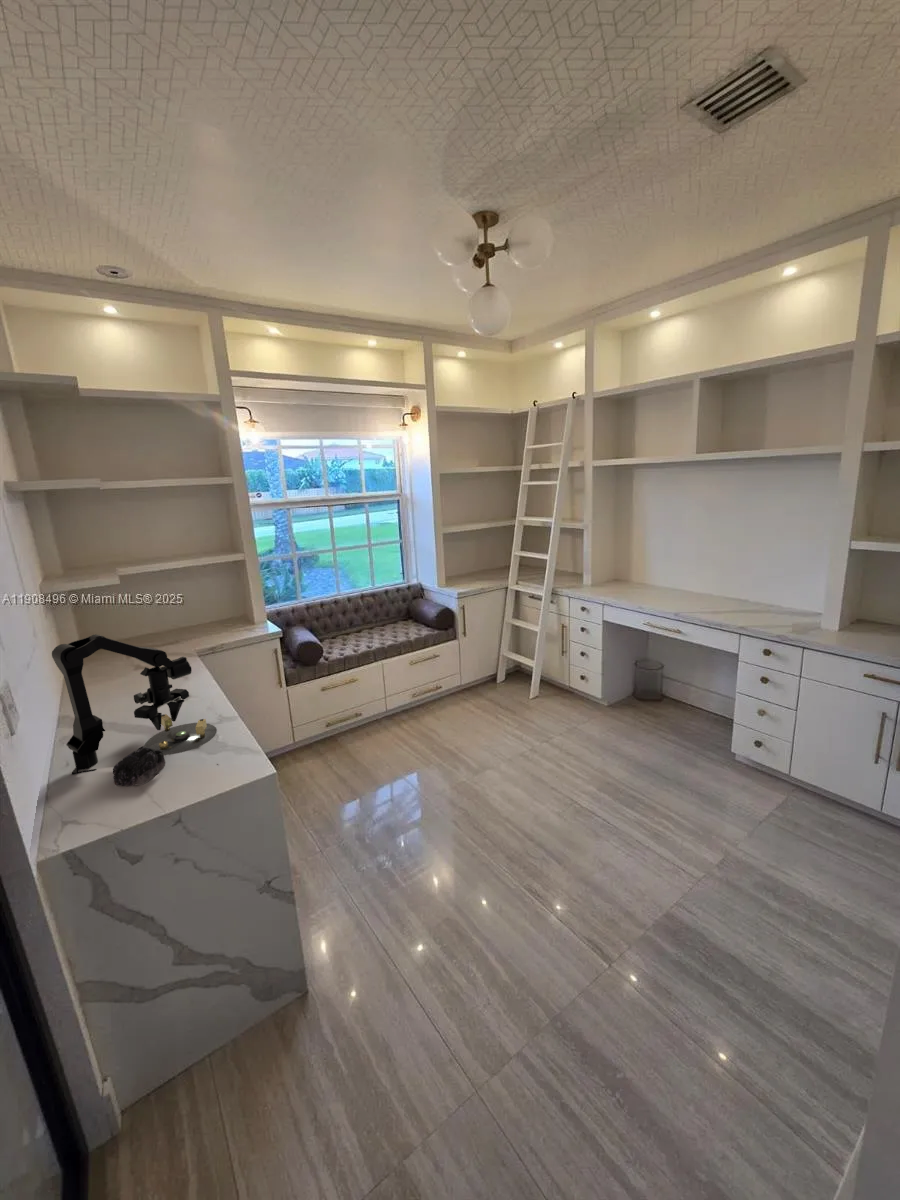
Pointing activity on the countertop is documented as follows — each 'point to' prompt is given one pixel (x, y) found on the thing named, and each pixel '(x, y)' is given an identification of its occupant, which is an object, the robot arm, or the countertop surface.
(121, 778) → the crystal cluster
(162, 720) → the knob far
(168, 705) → the robot arm
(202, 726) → the knob near
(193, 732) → the levelling plate
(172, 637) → the countertop surface
